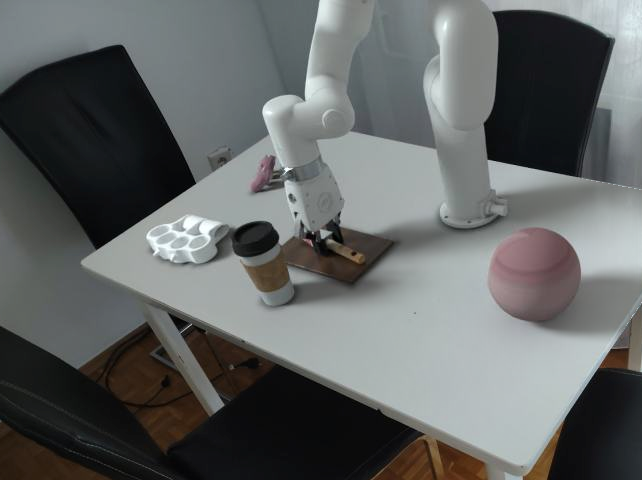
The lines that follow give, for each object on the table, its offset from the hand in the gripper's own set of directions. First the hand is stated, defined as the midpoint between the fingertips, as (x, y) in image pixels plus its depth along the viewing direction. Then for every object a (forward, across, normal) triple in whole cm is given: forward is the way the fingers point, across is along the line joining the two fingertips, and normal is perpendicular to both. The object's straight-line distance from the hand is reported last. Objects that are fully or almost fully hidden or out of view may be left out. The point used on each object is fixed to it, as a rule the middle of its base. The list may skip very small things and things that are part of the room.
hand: (329, 247), depth 129 cm
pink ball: (+1, 0, -46) cm, 46 cm away
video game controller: (+1, +17, +35) cm, 39 cm away
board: (+1, 0, 0) cm, 1 cm away
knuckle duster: (+1, -10, +33) cm, 35 cm away
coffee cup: (+1, -15, +1) cm, 15 cm away
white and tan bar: (0, 0, 0) cm, 1 cm away
